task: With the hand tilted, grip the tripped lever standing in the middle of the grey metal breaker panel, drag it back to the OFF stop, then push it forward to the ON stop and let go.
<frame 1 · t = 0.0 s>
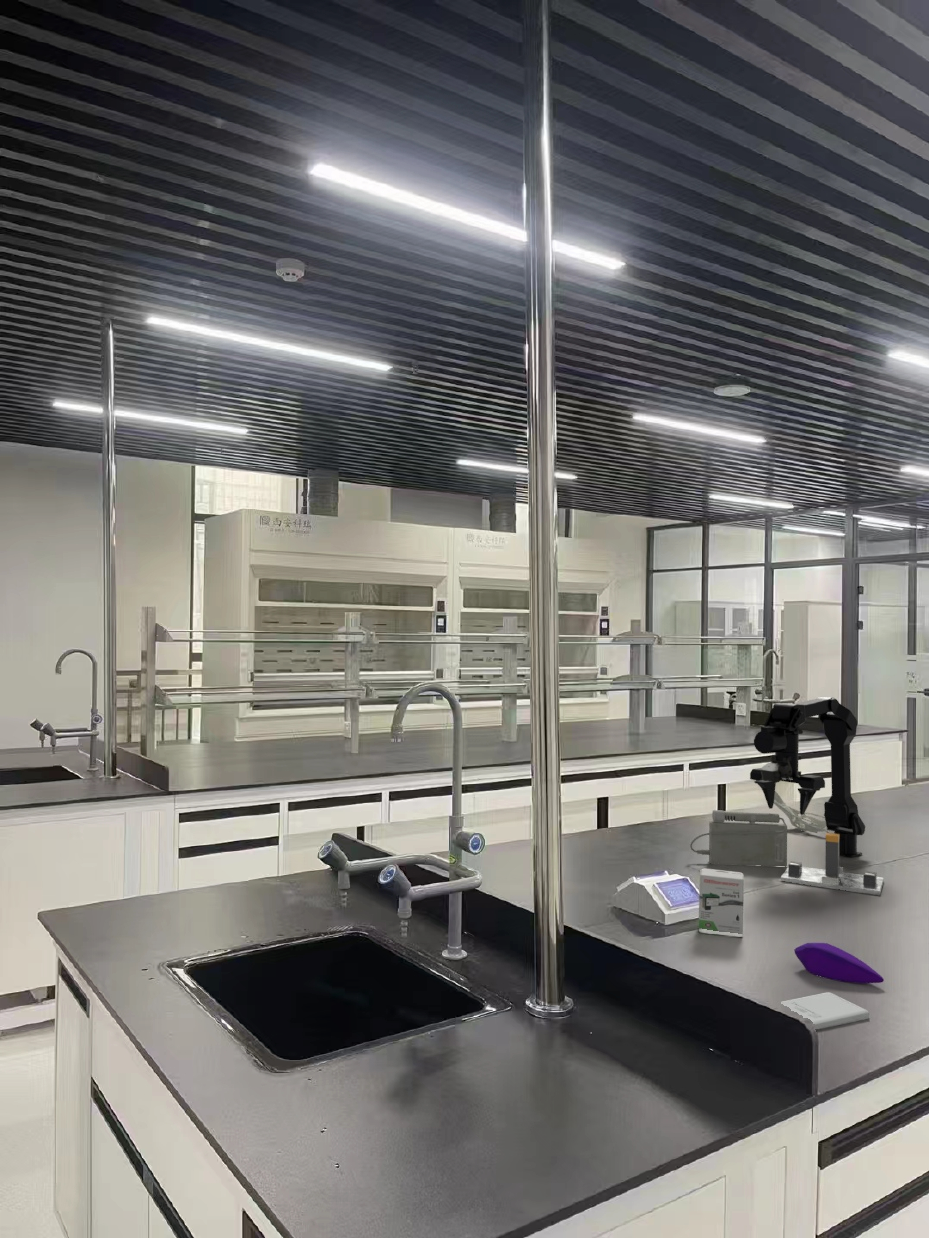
hand: (786, 811, 224), 15 cm above the worktop, tool pointing down, fingers open, 9 cm apart
geiger counter: (738, 865, 226), on the worktop
external hard drive: (818, 1018, 134), on the worktop
skeletal model: (803, 831, 271), on the worktop
purple teardrop shape: (837, 978, 149), on the worktop
tripped lever: (832, 855, 211), point 6 cm above the worktop, slide at 0.0 cm
ink box: (720, 933, 171), on the worktop
breaker panel: (832, 881, 211), on the worktop
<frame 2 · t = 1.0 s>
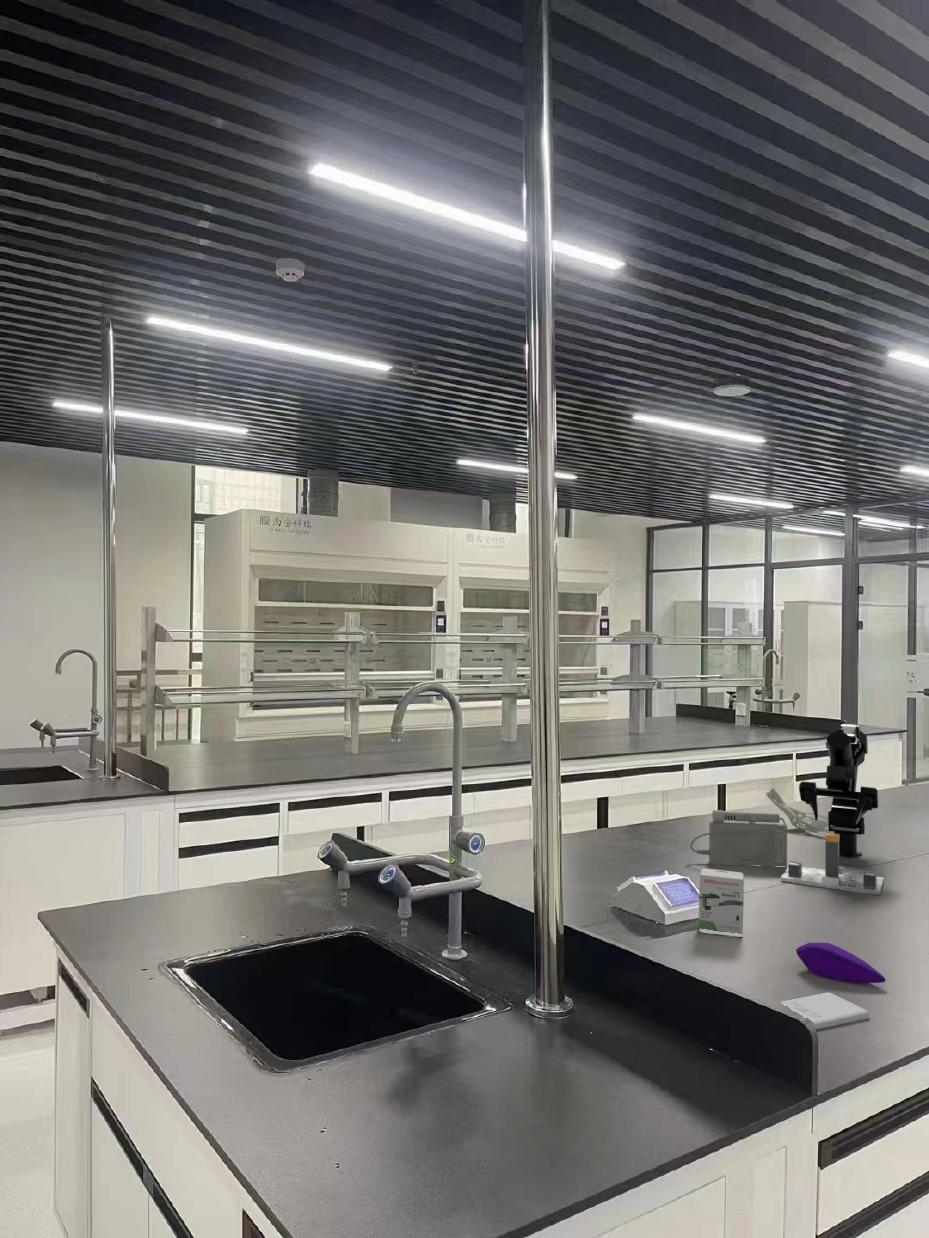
hand: (835, 821, 218), 13 cm above the worktop, tool tilted 45°, fingers open, 9 cm apart
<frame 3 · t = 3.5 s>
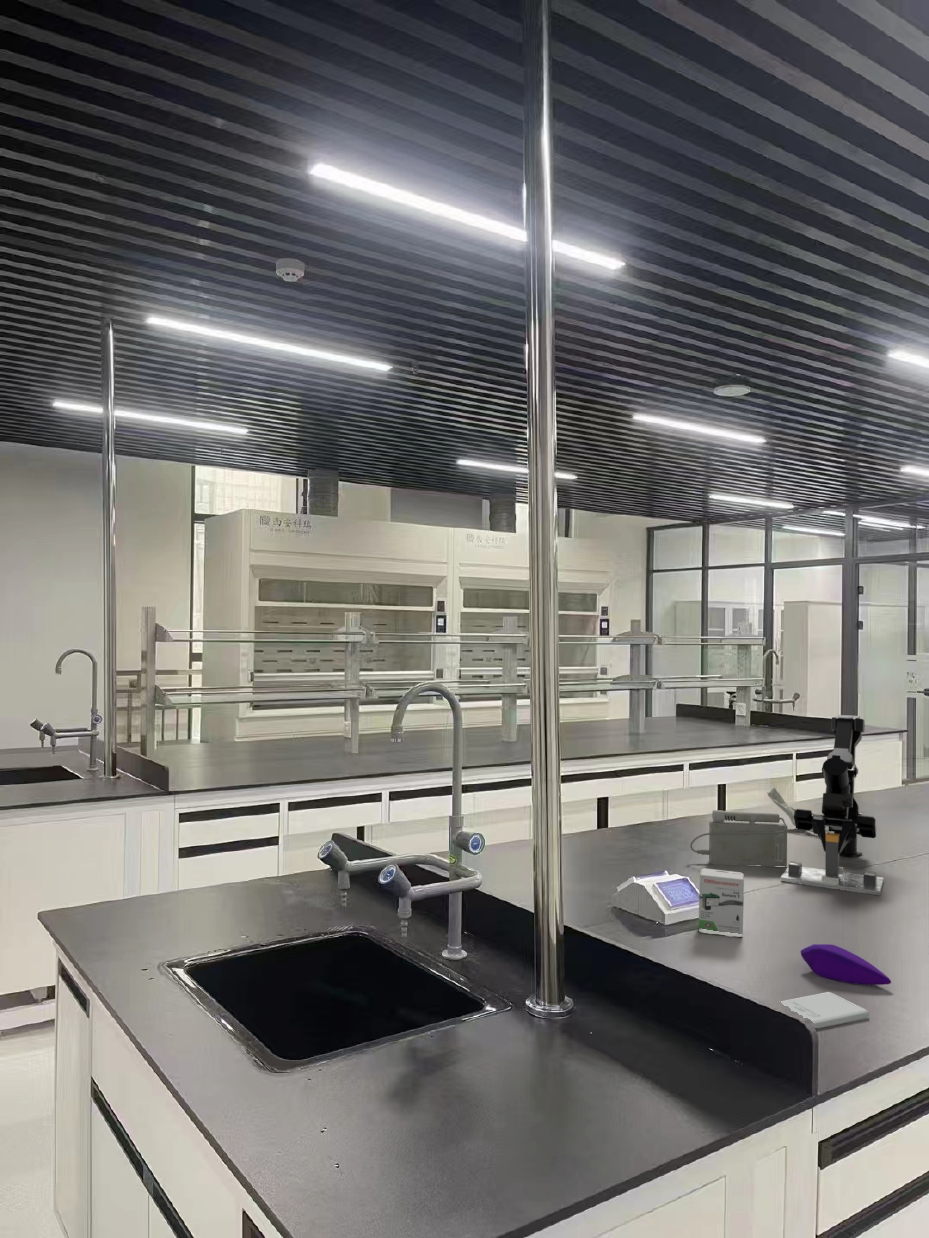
hand: (831, 851, 210), 8 cm above the worktop, tool tilted 45°, fingers closed on tripped lever, 3 cm apart
tripped lever: (832, 855, 211), point 6 cm above the worktop, slide at 0.0 cm, touching gripper
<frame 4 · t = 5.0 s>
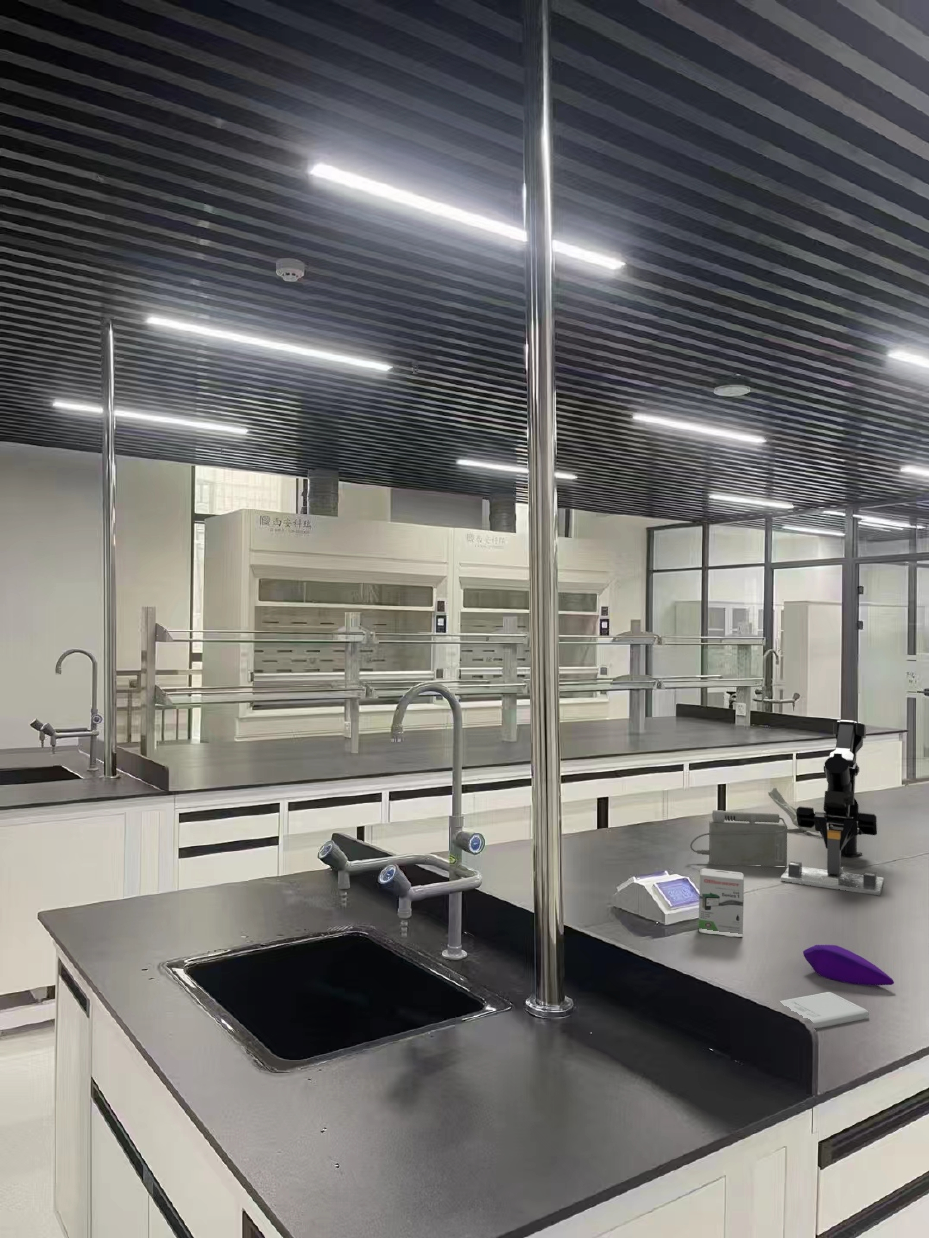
hand: (833, 848, 213), 8 cm above the worktop, tool tilted 45°, fingers closed on tripped lever, 3 cm apart
tripped lever: (834, 852, 214), point 6 cm above the worktop, slide at -3.9 cm, touching gripper
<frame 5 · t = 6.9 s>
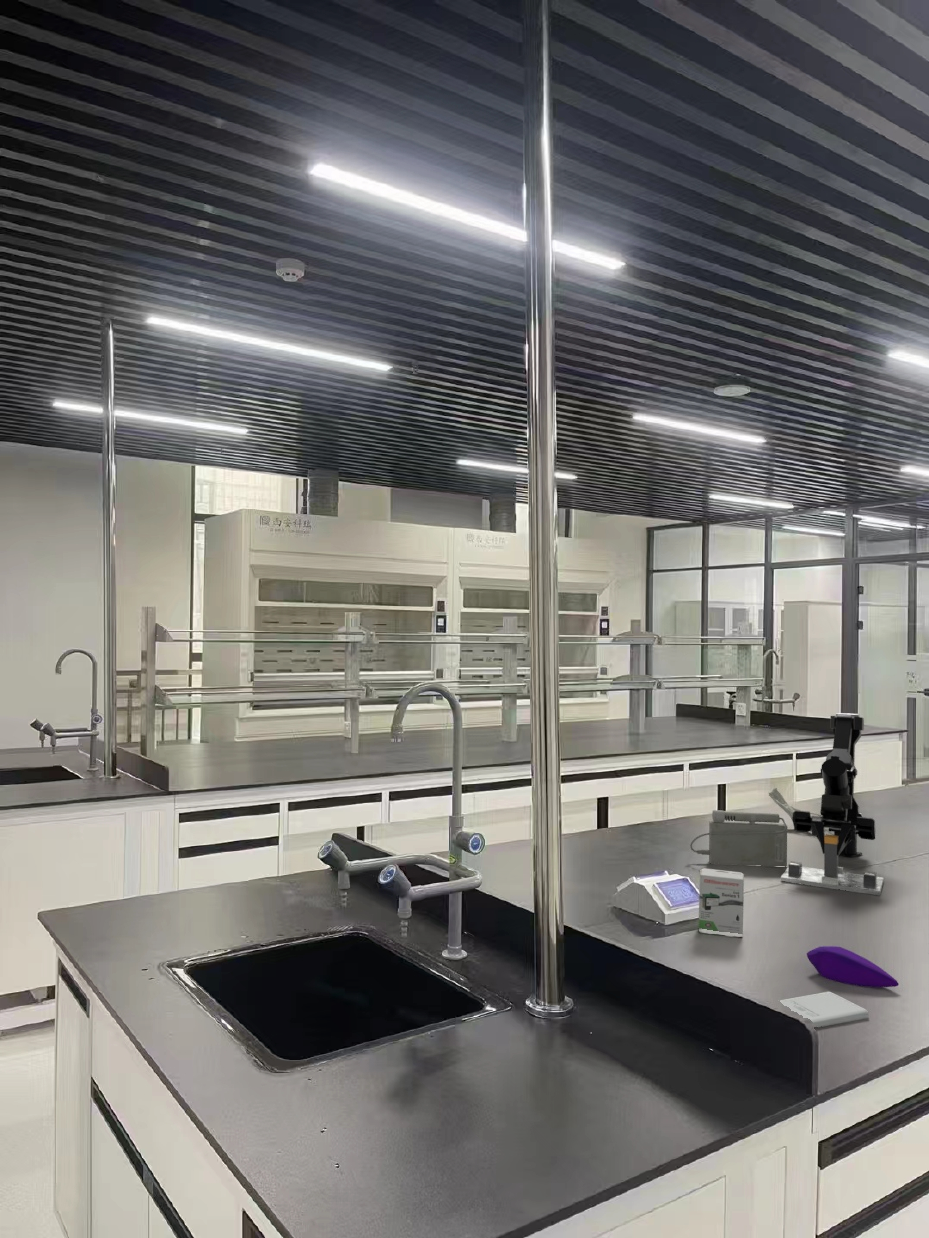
hand: (830, 853, 208), 8 cm above the worktop, tool tilted 45°, fingers closed on tripped lever, 3 cm apart
tripped lever: (831, 857, 209), point 6 cm above the worktop, slide at 2.4 cm, touching gripper
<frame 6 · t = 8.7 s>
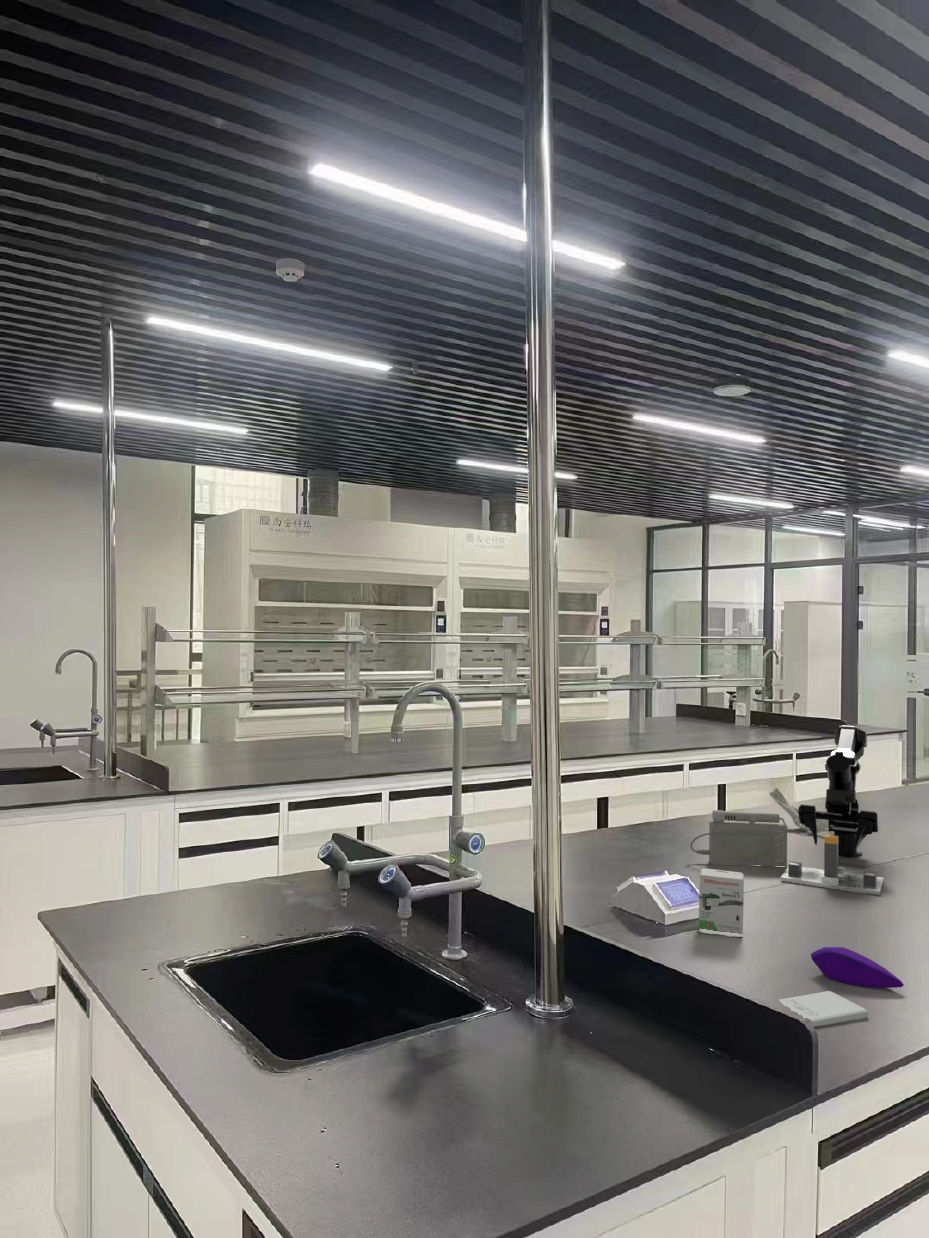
hand: (835, 845, 216), 7 cm above the worktop, tool tilted 45°, fingers open, 9 cm apart
tripped lever: (831, 857, 209), point 6 cm above the worktop, slide at 2.4 cm
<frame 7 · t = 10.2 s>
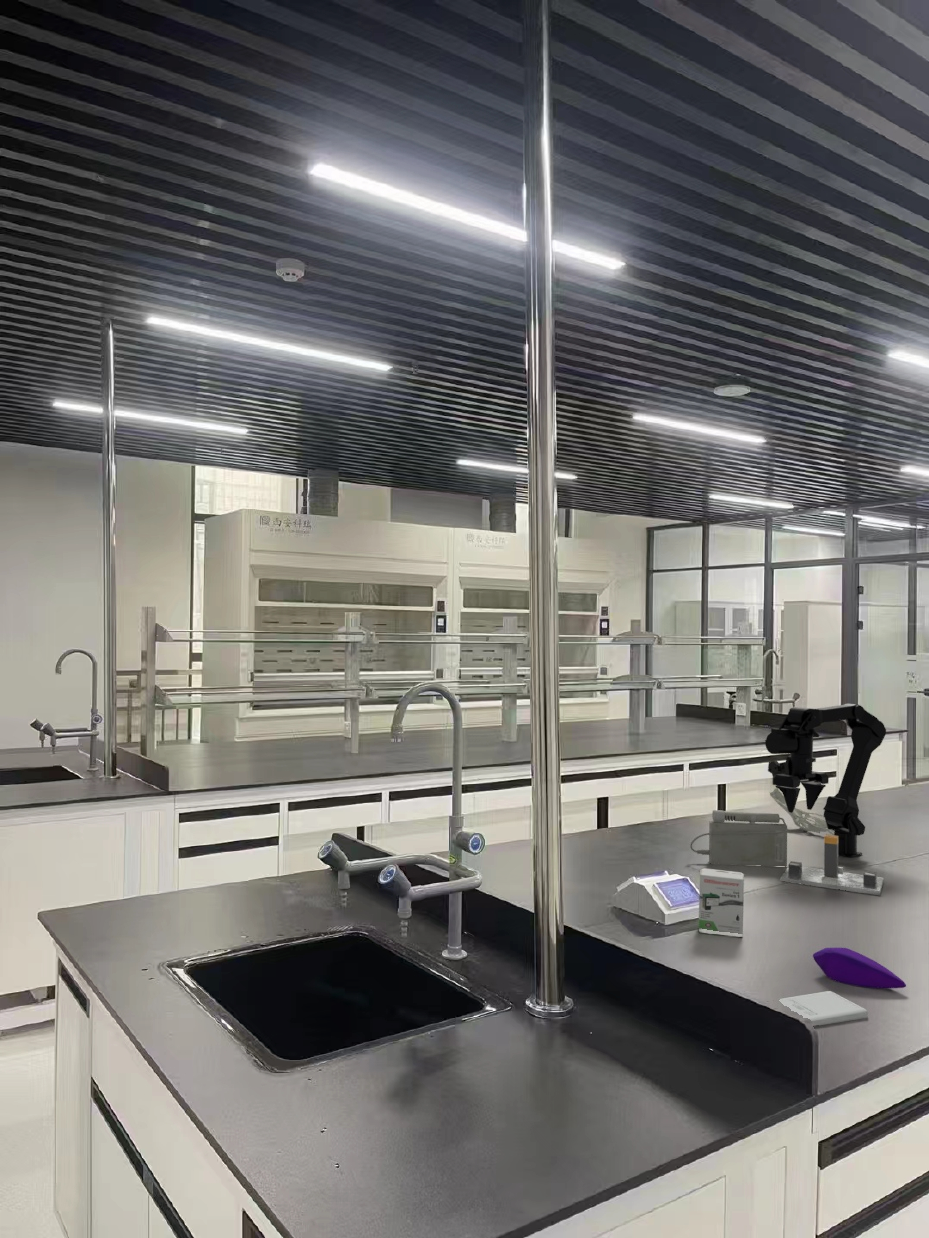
hand: (800, 810, 234), 13 cm above the worktop, tool pointing down, fingers open, 9 cm apart
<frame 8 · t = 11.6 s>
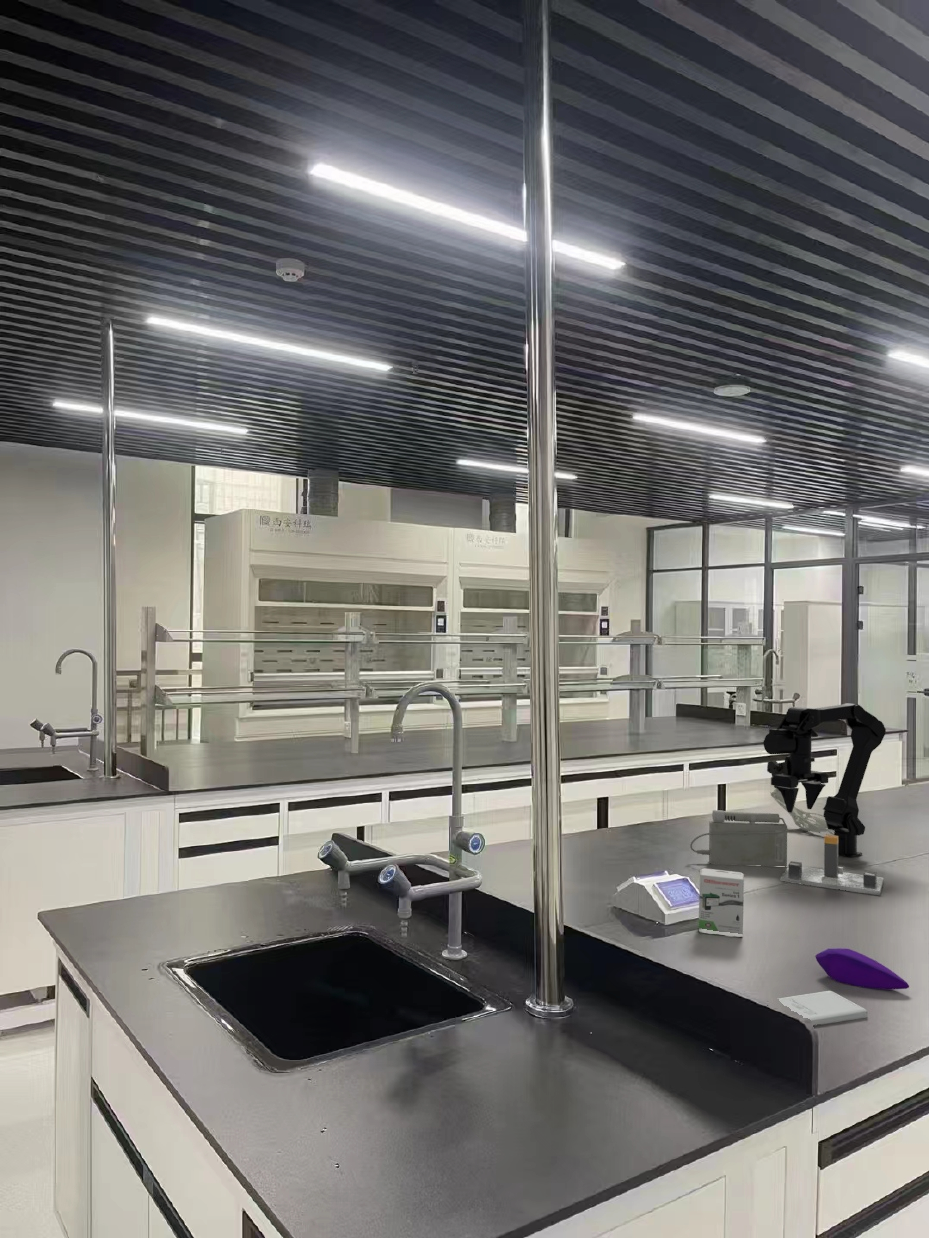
hand: (799, 810, 234), 13 cm above the worktop, tool pointing down, fingers open, 9 cm apart
at the end: tripped lever slide at 2.4 cm; the gripper is holding nothing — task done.
